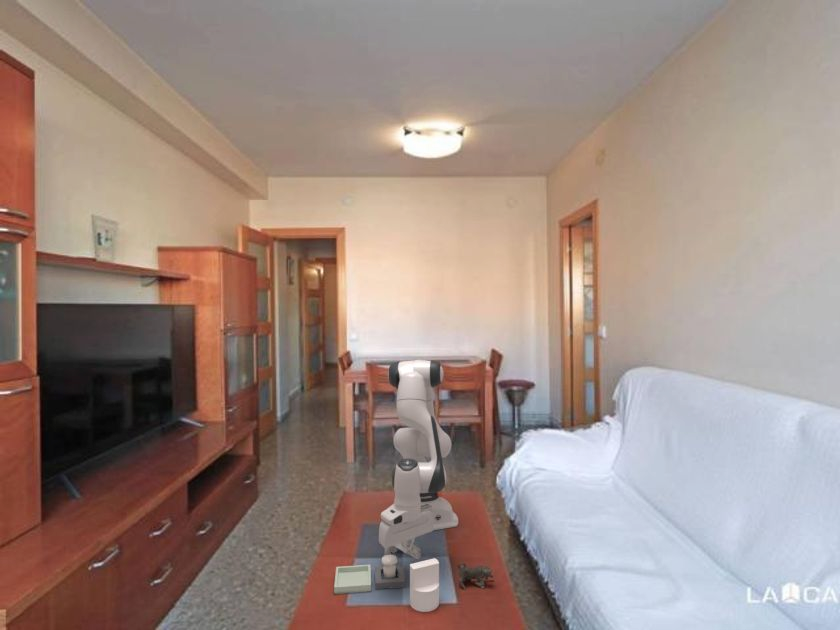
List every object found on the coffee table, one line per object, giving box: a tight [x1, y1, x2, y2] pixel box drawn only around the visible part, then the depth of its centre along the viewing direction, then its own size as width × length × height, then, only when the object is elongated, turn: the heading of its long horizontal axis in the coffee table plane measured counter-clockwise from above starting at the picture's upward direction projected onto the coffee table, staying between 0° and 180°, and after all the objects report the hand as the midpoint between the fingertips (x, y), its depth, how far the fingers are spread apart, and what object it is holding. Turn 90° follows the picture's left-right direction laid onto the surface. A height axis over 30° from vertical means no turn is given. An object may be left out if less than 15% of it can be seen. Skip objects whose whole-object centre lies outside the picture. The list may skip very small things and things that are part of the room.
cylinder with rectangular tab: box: [409, 557, 440, 613], centre depth 141 cm, size 9×9×12 cm
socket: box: [374, 547, 406, 590], centre depth 156 cm, size 10×17×8 cm, turn 7°
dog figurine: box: [457, 562, 494, 591], centre depth 150 cm, size 12×6×7 cm, turn 90°
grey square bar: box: [393, 540, 422, 560], centre depth 157 cm, size 17×3×3 cm, turn 43°
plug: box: [381, 554, 398, 579], centre depth 153 cm, size 5×5×7 cm
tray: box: [333, 564, 372, 595], centre depth 152 cm, size 12×12×2 cm
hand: (407, 551), depth 152 cm, fingers closed
